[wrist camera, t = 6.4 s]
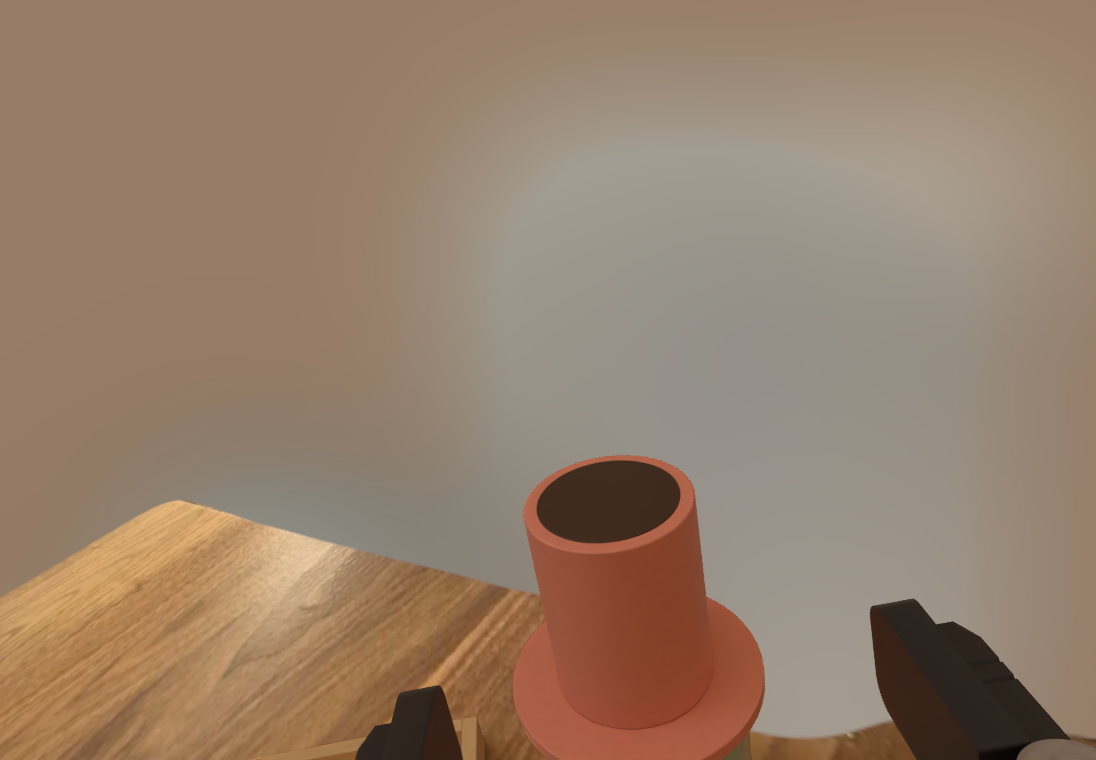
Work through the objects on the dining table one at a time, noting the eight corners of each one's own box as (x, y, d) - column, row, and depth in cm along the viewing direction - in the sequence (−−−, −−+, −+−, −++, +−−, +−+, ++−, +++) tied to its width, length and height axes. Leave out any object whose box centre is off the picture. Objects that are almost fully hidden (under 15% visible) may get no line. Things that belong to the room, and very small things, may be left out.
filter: (472, 736, 32) (414, 534, 28) (614, 593, 39) (583, 412, 35) (681, 871, 26) (645, 634, 22) (809, 672, 32) (800, 461, 28)
